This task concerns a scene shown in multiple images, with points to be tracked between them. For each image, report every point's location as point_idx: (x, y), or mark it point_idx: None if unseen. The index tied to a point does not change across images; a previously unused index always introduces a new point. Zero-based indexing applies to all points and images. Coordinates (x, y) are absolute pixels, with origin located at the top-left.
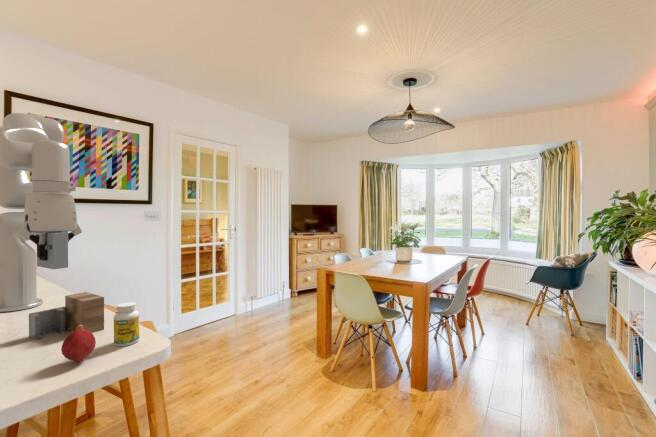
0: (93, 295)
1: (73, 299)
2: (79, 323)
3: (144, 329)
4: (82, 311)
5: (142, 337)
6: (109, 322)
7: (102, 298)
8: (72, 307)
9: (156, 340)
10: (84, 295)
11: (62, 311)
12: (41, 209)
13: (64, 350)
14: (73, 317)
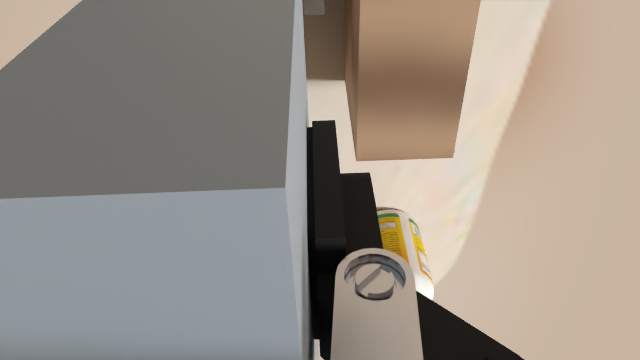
0: (449, 86)
1: (358, 64)
2: (348, 72)
3: (483, 181)
4: (352, 127)
5: (431, 229)
6: (489, 3)
7: (443, 154)
8: (354, 33)
9: (433, 268)
10: (425, 48)
11: (314, 11)
12: None
13: None
14: (350, 24)
